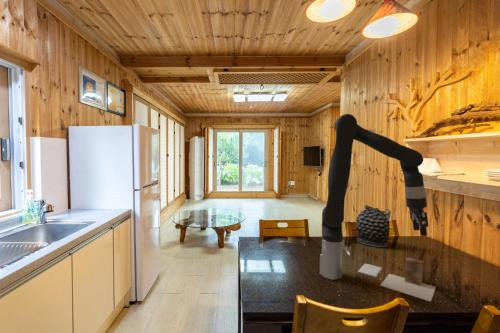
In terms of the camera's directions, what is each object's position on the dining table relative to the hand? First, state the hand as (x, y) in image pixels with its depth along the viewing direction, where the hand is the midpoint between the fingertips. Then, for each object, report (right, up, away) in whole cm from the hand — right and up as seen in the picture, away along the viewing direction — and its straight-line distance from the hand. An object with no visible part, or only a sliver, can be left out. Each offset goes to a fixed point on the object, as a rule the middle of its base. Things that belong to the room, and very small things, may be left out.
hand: (420, 232), depth 111 cm
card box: (-2, -22, +1) cm, 22 cm away
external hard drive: (-16, -23, +13) cm, 31 cm away
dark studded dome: (+4, -21, +53) cm, 57 cm away
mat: (-7, -23, -2) cm, 24 cm away
